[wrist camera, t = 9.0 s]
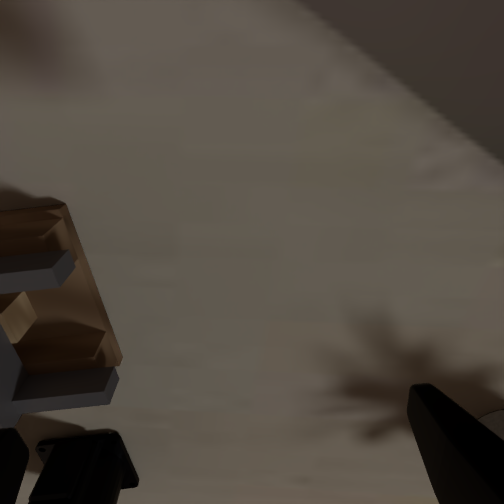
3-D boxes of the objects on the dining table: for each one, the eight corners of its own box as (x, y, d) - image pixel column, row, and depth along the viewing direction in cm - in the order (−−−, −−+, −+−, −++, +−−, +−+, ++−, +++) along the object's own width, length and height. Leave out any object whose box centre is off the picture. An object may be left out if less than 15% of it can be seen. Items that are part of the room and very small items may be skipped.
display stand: (122, 357, 24) (108, 393, 22) (18, 368, 24) (-8, 405, 22) (66, 203, 19) (38, 226, 16) (-65, 219, 19) (-114, 243, 17)
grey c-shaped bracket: (120, 381, 21) (103, 426, 18) (2, 393, 21) (-31, 440, 19) (67, 245, 17) (36, 279, 14) (-78, 262, 17) (-136, 298, 14)
